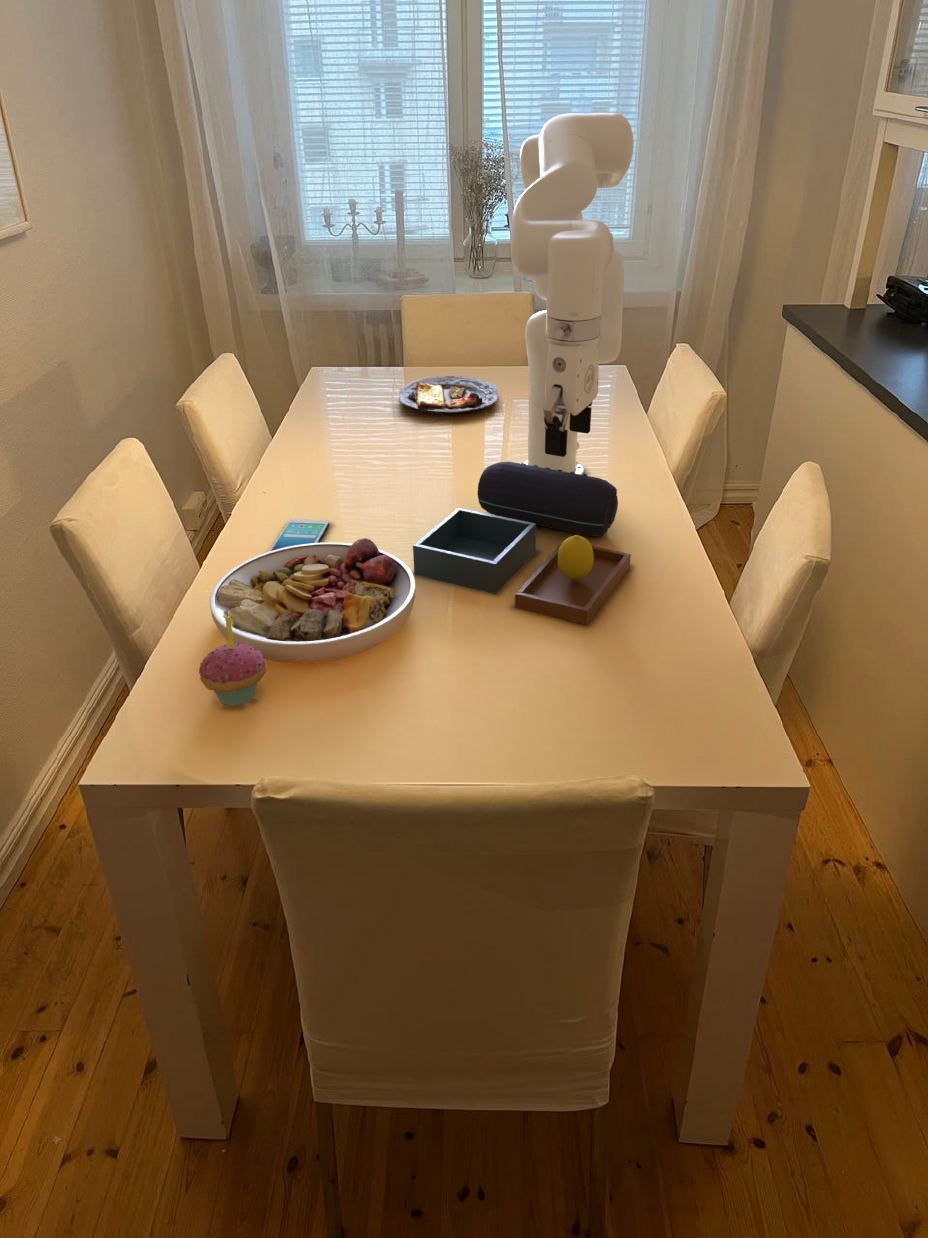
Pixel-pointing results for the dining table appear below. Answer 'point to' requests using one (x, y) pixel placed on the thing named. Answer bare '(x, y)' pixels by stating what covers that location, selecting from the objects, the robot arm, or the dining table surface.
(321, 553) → the bowl
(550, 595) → the tray
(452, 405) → the food plate
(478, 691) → the dining table surface
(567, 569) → the lemon
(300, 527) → the smartphone
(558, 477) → the portable speaker
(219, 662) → the cupcake
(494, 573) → the blue open storage box
